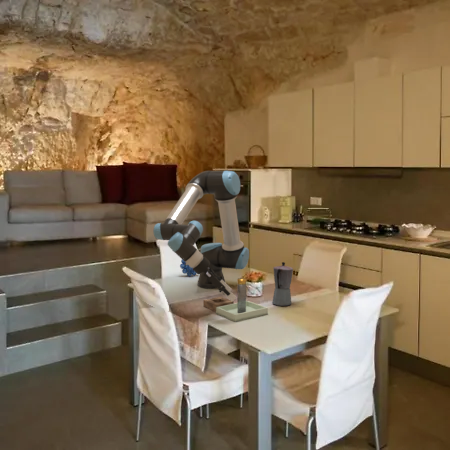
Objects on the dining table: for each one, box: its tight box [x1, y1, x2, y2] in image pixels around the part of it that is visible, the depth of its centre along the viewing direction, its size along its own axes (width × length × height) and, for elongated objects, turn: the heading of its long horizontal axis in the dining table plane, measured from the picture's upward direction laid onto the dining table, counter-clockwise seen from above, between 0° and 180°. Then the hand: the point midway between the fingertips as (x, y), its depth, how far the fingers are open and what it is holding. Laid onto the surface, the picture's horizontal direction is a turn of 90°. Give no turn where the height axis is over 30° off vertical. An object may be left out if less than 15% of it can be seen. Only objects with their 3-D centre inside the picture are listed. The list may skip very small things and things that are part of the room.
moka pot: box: [271, 261, 294, 307], centre depth 234 cm, size 10×15×20 cm, turn 161°
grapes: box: [179, 259, 197, 277], centre depth 292 cm, size 12×7×12 cm, turn 109°
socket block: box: [203, 296, 235, 312], centre depth 230 cm, size 10×10×3 cm
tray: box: [215, 300, 269, 323], centre depth 219 cm, size 18×14×3 cm
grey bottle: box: [236, 277, 247, 313], centre depth 218 cm, size 4×4×15 cm
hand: (232, 295), depth 218 cm, fingers open, 13 cm apart
